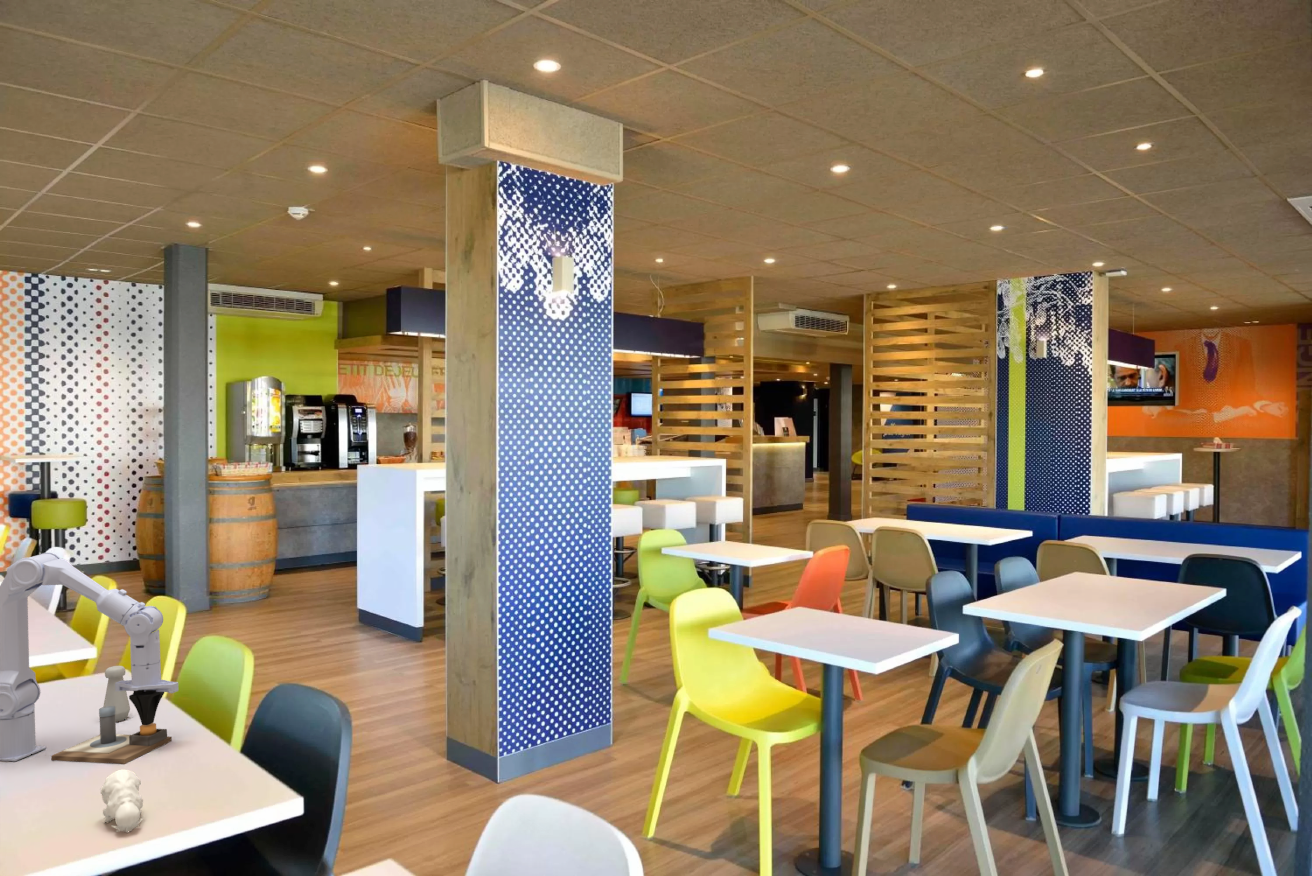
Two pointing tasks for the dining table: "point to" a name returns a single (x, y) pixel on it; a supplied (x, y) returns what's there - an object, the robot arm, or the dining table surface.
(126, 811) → the white crouching figurine
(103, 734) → the cylinder
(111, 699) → the salt shaker
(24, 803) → the dining table surface
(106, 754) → the board
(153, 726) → the button
